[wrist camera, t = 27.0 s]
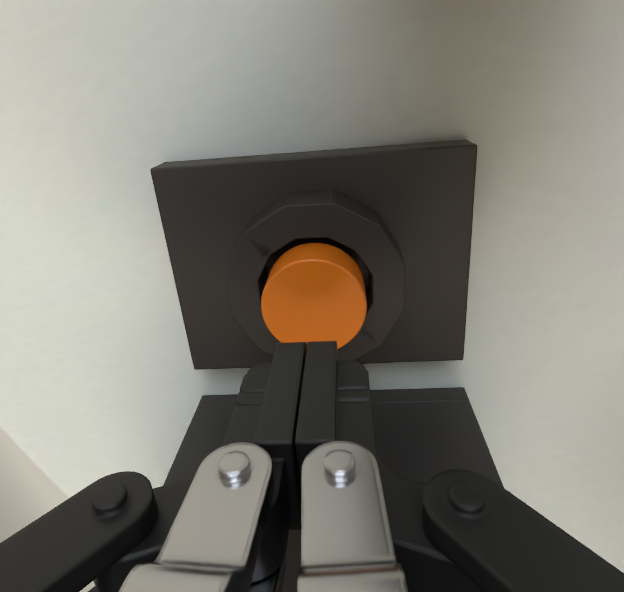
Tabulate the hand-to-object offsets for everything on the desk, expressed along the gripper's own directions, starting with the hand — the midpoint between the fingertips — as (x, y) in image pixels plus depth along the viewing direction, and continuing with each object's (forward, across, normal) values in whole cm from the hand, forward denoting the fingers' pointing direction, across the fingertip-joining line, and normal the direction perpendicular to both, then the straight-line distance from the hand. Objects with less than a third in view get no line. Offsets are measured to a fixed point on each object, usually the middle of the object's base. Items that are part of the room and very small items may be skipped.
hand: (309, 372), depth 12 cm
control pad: (+9, 0, 0) cm, 9 cm away
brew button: (+6, 0, 0) cm, 6 cm away
